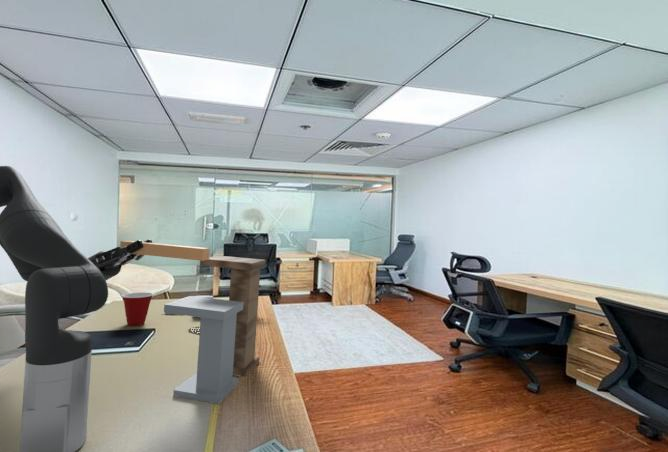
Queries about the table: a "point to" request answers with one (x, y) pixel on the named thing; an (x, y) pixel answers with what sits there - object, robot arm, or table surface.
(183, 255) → the bar
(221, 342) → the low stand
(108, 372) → the table surface
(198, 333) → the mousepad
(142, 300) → the plastic cup
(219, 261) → the tall stand
